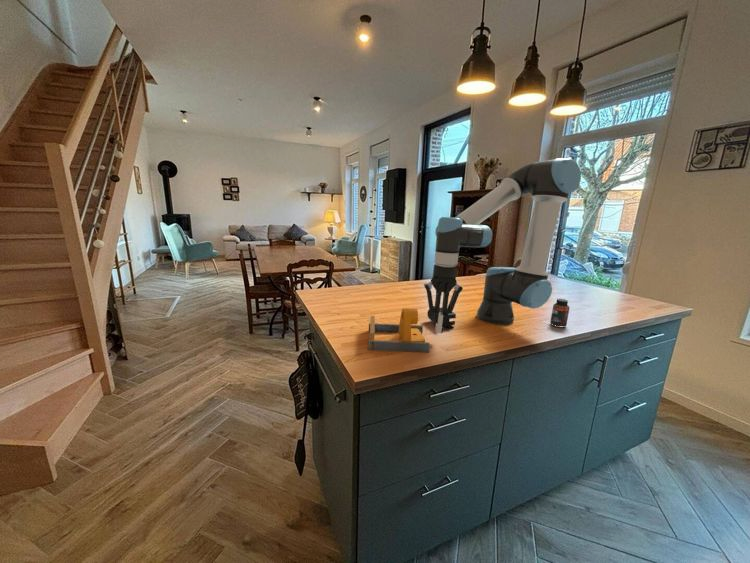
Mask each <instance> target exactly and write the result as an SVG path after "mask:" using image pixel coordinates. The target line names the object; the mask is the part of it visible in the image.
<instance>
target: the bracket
mask: <svg viewBox="0 0 750 563" xmlns="http://www.w3.org/2000/svg"><path fill="white" fill-rule="evenodd" d="M399 319H400V320H399V323H398V324H399V332H398V333H397V334H398V336H399V340H400V341H404V342H426V339H425V337H424V336H423V333H422V334H421V332H420V331H419V329H411V325H418V321H419V313H418V309H417V308H402V309H401V312H400V318H399Z"/></svg>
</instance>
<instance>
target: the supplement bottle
mask: <svg viewBox="0 0 750 563" xmlns="http://www.w3.org/2000/svg"><path fill="white" fill-rule="evenodd" d="M569 313H570V306H569V300H567V299H564V298H557V299H556V302H555V303H553V305H552V311H551V314H550V315H551V316H550V321H549V324H550V323H551V324H553V325H556V326H566V327H567V325H568V324H567V323H568V318H569ZM551 324H550V325H551ZM553 325H552V326H553Z"/></svg>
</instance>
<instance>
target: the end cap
mask: <svg viewBox="0 0 750 563" xmlns="http://www.w3.org/2000/svg"><path fill="white" fill-rule="evenodd" d="M433 307H434V308H435V305H433ZM439 313H442V306H440V310H439ZM426 314H427V318H428V319H429V320H430V321H431V322H433V323H434V313H432V312H431V311H430V310H429V309H428V310H427V313H426ZM456 318H457V314H456V313H455V312H453V311H452V313H451V314H450V313H449V314H447V315H446V321H445V324H444V323H442V329H444V330H451V329H454V328H455V325H456V321H455V320H451V319H456Z"/></svg>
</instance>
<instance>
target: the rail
mask: <svg viewBox="0 0 750 563" xmlns="http://www.w3.org/2000/svg"><path fill="white" fill-rule="evenodd" d="M399 324H400V323H398V324H397V323H396V324H394V323H376V318H375V315H370V321H369V322H368V333H369V339H367V351H381V352H382V351H386V352H387V351H388V352H411V353H415V352H416V353H430V349H431V348H430V345H431V343H430V342H427V341H425V342H404V341H401V340H400V341H398V340H380V339H379V340H378V339H377V340H376V339H375V333H389V334H395V333H396V334H398V332H399ZM423 328H424V326H423V325H421V324H420V325H419V324H411V329H419V331H420V332H421V334H422V335H423Z"/></svg>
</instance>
